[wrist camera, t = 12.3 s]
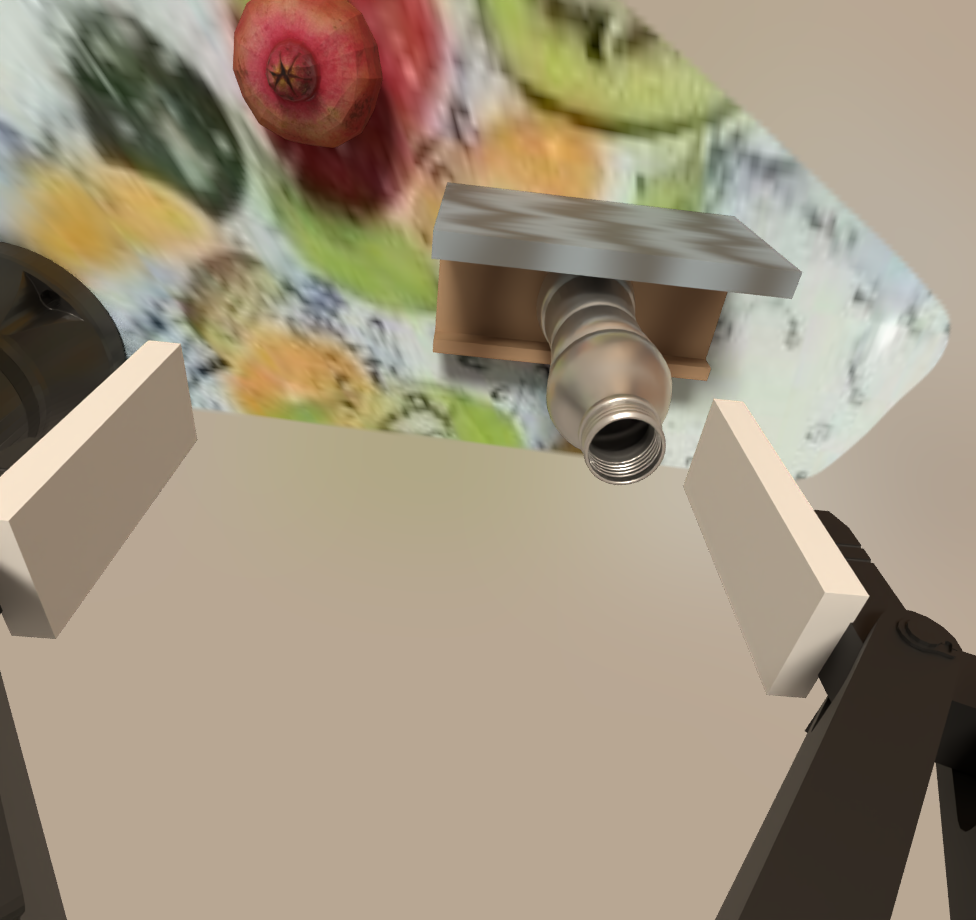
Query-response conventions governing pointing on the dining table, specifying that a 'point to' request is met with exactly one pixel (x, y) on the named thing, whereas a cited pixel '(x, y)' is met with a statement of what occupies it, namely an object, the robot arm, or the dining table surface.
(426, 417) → the dining table surface
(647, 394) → the silver metal bottle
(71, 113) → the dining table surface
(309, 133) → the fruit
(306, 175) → the dining table surface
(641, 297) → the brown wooden box
